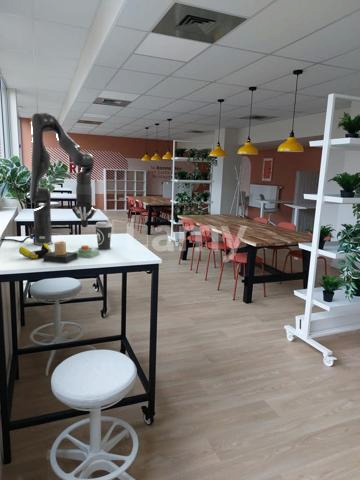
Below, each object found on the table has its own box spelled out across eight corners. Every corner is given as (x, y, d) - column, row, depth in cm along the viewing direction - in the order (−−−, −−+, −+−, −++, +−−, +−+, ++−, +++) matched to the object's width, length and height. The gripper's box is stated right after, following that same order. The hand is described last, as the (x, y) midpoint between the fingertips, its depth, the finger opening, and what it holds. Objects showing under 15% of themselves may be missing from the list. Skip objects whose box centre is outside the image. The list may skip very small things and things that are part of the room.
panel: (43, 261, 162) (43, 254, 161) (55, 256, 171) (55, 250, 171) (66, 263, 159) (65, 256, 158) (77, 258, 169) (77, 252, 168)
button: (80, 249, 174) (80, 246, 174) (83, 248, 178) (83, 245, 177) (86, 250, 174) (86, 246, 173) (89, 248, 177) (89, 245, 177)
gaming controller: (17, 257, 167) (27, 261, 161) (17, 246, 166) (27, 249, 160) (46, 252, 179) (56, 256, 173) (45, 242, 178) (56, 245, 172)
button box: (71, 256, 173) (70, 249, 172) (80, 252, 182) (79, 246, 181) (90, 258, 171) (90, 251, 170) (98, 254, 179) (98, 247, 179)
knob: (62, 255, 162) (62, 243, 160) (52, 254, 162) (52, 242, 161) (68, 253, 167) (67, 241, 166) (58, 252, 167) (57, 240, 166)
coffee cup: (108, 250, 188) (108, 224, 185) (92, 249, 189) (92, 223, 187) (115, 247, 197) (115, 221, 194) (99, 246, 199) (99, 221, 196)
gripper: (68, 192, 169) (69, 227, 172) (92, 194, 166) (93, 229, 169) (75, 192, 176) (76, 225, 179) (99, 193, 173) (99, 227, 176)
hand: (84, 227), depth 174 cm, fingers closed
